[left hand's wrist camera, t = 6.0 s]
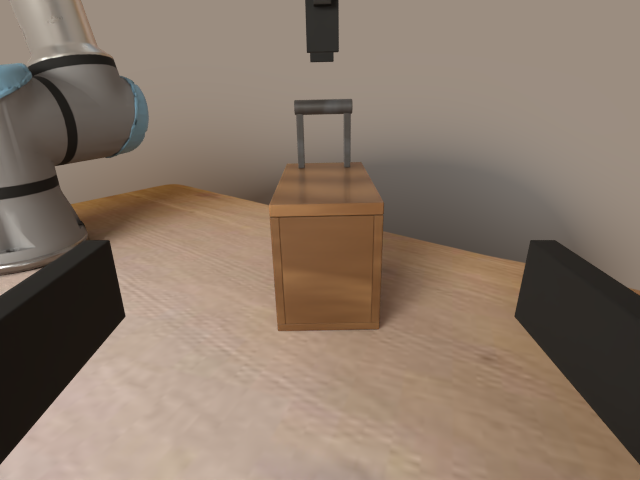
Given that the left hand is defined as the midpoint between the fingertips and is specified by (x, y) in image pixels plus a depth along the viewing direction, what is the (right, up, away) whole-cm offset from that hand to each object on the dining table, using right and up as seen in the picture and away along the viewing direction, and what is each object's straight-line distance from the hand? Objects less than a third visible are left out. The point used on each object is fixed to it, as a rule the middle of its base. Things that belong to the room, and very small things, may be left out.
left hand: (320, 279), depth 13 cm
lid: (0, +6, +27) cm, 27 cm away
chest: (+1, -4, +30) cm, 30 cm away
